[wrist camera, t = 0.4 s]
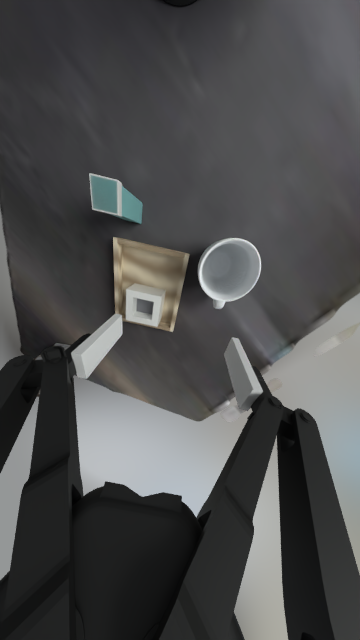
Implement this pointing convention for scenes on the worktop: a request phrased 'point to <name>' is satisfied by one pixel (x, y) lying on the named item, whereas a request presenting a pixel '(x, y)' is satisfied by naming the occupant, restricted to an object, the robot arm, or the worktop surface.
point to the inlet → (144, 304)
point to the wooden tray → (149, 275)
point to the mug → (228, 270)
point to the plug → (114, 199)
